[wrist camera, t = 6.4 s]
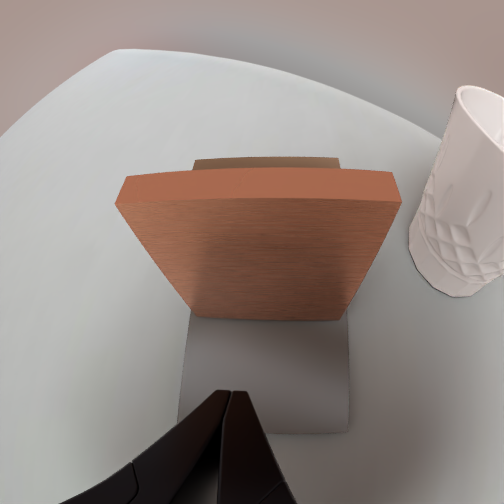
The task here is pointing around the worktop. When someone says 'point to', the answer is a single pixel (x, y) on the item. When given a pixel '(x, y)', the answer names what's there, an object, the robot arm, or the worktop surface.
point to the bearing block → (271, 352)
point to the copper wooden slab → (262, 236)
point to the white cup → (464, 199)
